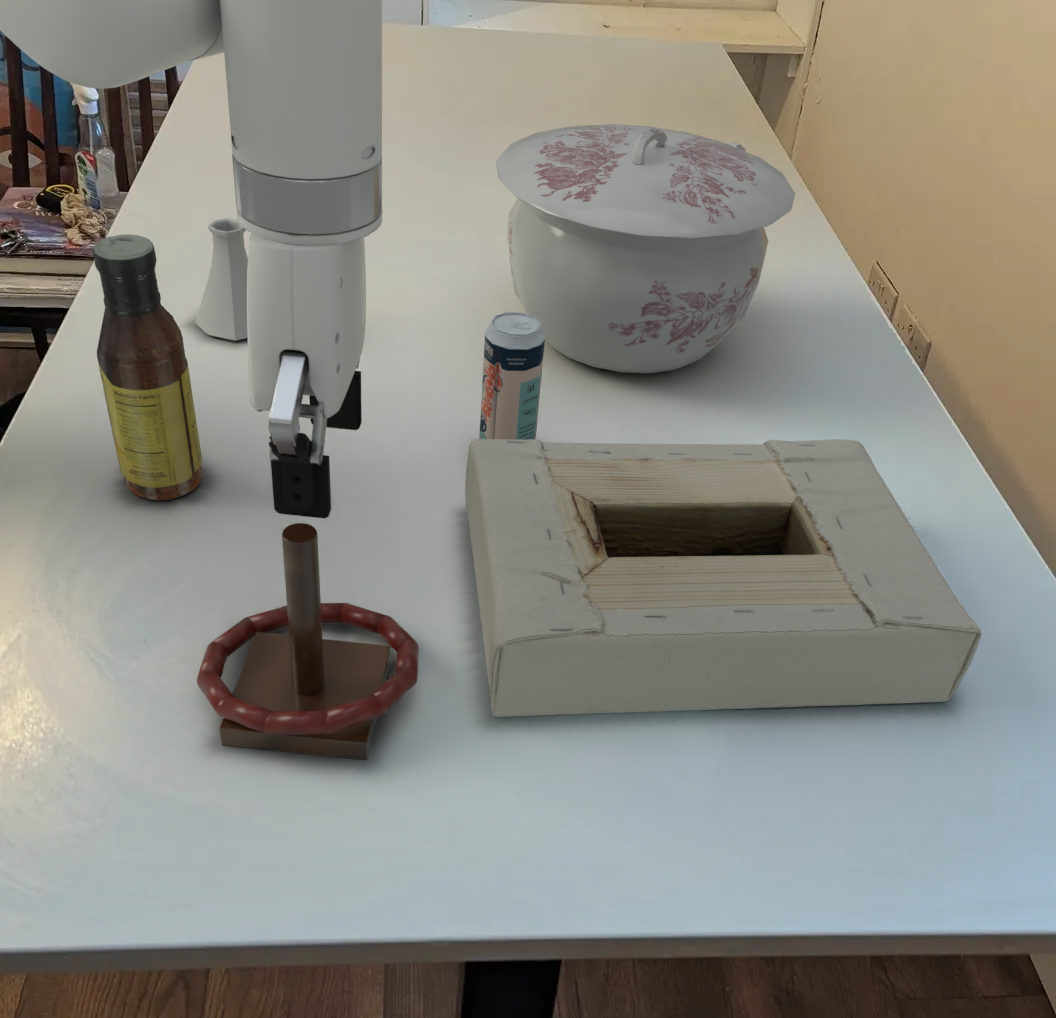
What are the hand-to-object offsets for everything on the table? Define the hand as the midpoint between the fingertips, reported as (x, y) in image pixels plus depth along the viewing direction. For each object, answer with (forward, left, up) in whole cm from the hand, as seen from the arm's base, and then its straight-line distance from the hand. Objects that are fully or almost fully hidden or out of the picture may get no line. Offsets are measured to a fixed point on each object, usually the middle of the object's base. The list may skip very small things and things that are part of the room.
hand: (320, 467), depth 72 cm
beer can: (+10, +26, -14) cm, 31 cm away
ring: (0, -5, -12) cm, 13 cm away
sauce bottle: (-16, +16, -14) cm, 27 cm away
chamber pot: (+20, +49, -14) cm, 55 cm away
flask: (-18, +44, -14) cm, 49 cm away
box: (+25, +8, -14) cm, 30 cm away
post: (0, -6, -14) cm, 15 cm away
